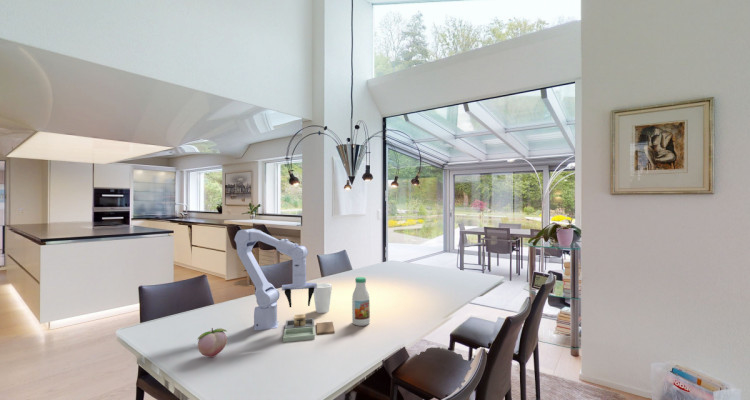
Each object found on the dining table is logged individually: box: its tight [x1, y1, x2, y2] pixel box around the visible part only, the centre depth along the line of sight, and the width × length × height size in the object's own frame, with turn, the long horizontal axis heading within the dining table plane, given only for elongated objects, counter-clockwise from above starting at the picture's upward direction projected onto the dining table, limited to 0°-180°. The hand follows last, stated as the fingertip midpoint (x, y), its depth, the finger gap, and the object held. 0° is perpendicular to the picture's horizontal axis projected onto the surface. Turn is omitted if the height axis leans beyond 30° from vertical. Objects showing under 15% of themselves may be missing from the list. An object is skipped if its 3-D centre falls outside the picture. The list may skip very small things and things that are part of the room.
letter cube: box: [293, 313, 306, 327], centre depth 137 cm, size 4×5×4 cm
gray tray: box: [284, 317, 315, 330], centre depth 137 cm, size 12×9×2 cm
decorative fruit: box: [197, 327, 228, 358], centre depth 111 cm, size 9×8×10 cm
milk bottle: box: [351, 276, 371, 327], centre depth 141 cm, size 8×8×20 cm
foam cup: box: [313, 282, 333, 314], centre depth 157 cm, size 10×9×13 cm
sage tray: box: [282, 326, 316, 343], centre depth 127 cm, size 12×9×2 cm
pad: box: [316, 321, 336, 336], centre depth 134 cm, size 7×11×1 cm, turn 12°
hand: (299, 306), depth 136 cm, fingers open, 7 cm apart
